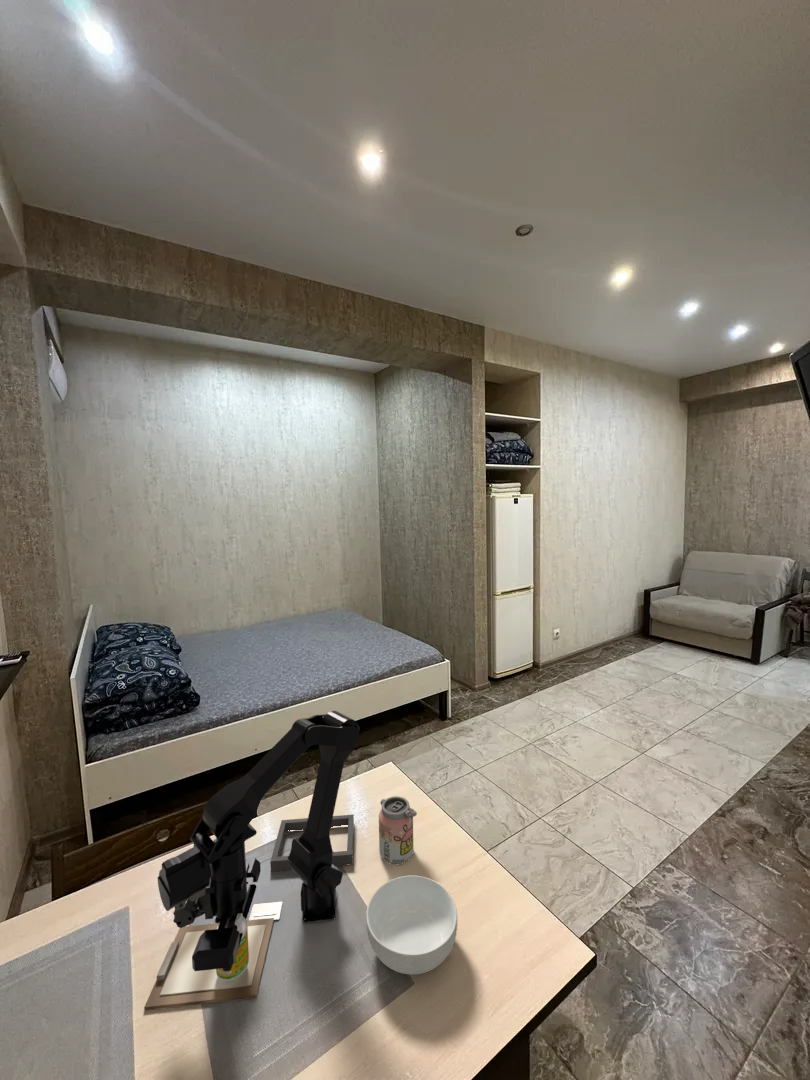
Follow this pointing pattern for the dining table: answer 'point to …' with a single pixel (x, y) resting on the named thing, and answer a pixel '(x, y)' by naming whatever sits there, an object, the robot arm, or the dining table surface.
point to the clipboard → (204, 987)
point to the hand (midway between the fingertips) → (232, 953)
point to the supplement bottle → (241, 955)
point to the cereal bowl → (411, 924)
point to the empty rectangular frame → (299, 824)
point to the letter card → (266, 911)
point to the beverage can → (396, 830)
